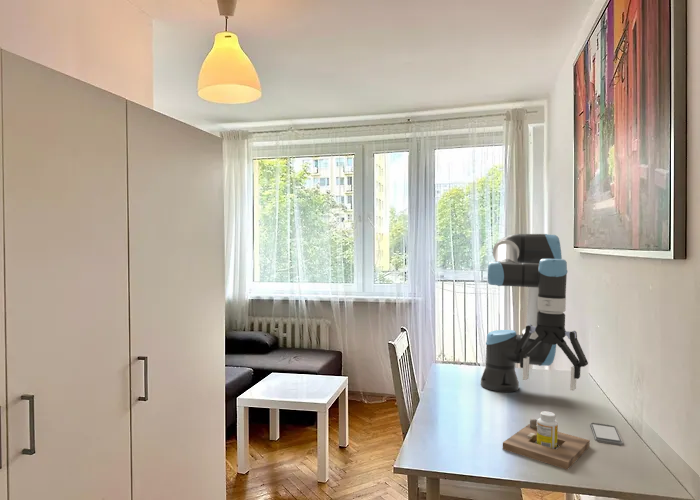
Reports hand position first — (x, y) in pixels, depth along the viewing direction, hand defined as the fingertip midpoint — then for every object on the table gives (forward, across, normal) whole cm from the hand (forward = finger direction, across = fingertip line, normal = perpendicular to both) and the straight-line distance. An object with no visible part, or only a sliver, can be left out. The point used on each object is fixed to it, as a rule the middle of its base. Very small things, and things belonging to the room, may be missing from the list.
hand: (548, 384), depth 142 cm
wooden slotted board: (+19, 0, 0) cm, 19 cm away
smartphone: (+20, +10, +24) cm, 32 cm away
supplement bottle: (+19, 0, 0) cm, 19 cm away
